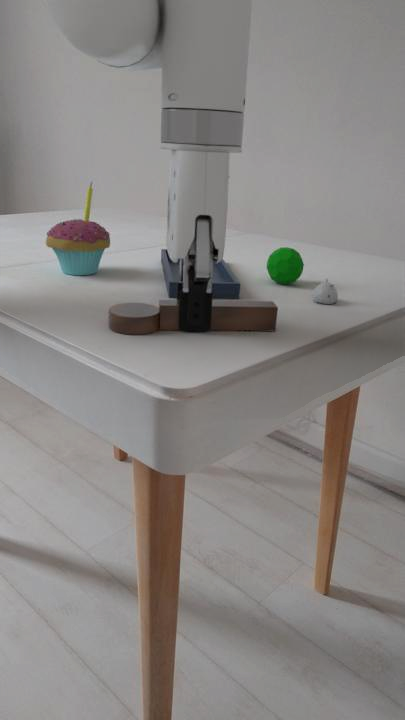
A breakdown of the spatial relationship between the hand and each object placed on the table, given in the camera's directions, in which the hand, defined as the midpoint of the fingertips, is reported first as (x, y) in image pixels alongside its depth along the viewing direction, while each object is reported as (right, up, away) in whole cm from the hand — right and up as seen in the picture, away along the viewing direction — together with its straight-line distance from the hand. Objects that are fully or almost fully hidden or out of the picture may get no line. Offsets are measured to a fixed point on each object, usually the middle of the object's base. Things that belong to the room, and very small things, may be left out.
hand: (193, 323), depth 58 cm
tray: (0, +8, +20) cm, 22 cm away
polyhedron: (+12, +7, +20) cm, 24 cm away
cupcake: (-16, +8, +20) cm, 27 cm away
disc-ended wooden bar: (0, 0, 0) cm, 0 cm away
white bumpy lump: (+16, +3, +12) cm, 20 cm away
